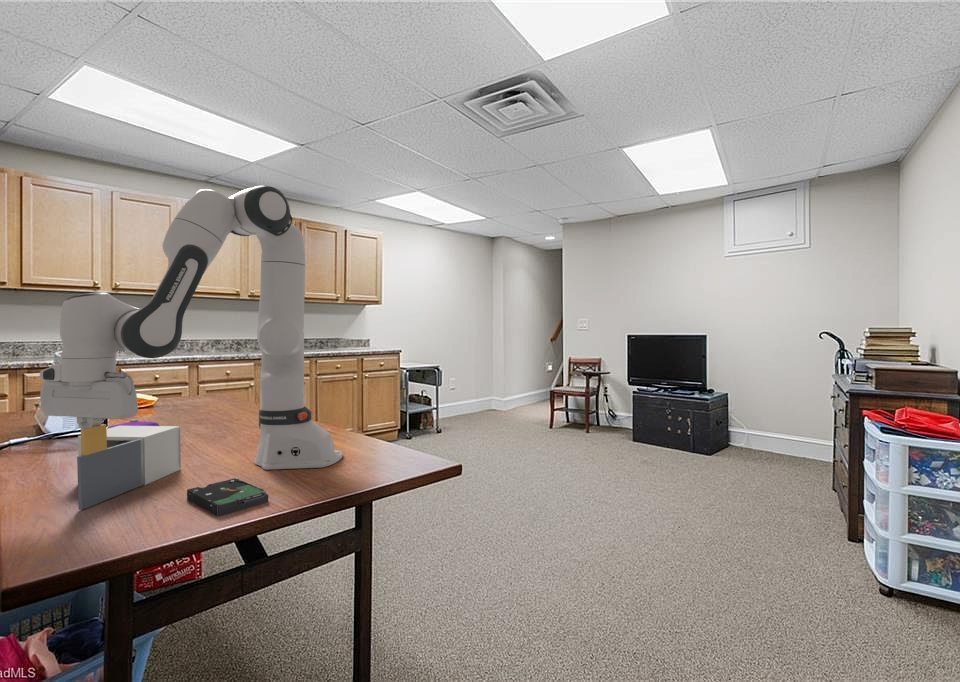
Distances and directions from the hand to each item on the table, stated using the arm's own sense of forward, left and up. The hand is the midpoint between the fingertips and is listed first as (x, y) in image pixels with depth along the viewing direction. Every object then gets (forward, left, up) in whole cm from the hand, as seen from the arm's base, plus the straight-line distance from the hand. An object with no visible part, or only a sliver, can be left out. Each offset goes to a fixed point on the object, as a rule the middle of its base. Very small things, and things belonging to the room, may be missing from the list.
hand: (90, 438), depth 100 cm
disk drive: (-27, -3, -14) cm, 31 cm away
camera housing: (+5, -17, -13) cm, 22 cm away
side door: (-2, -3, -13) cm, 14 cm away
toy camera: (+16, -33, -14) cm, 39 cm away
